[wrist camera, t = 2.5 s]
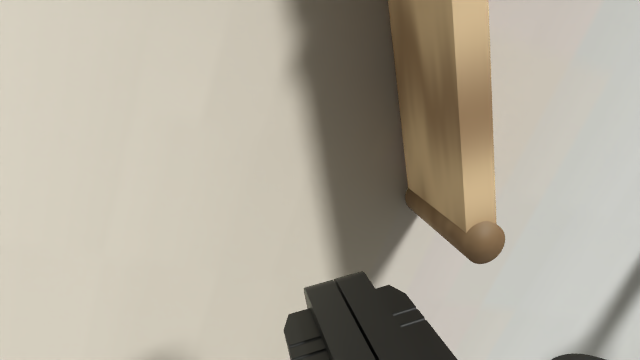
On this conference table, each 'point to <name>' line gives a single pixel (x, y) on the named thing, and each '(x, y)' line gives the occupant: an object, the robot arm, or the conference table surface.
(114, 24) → the conference table surface
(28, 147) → the conference table surface
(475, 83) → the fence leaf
